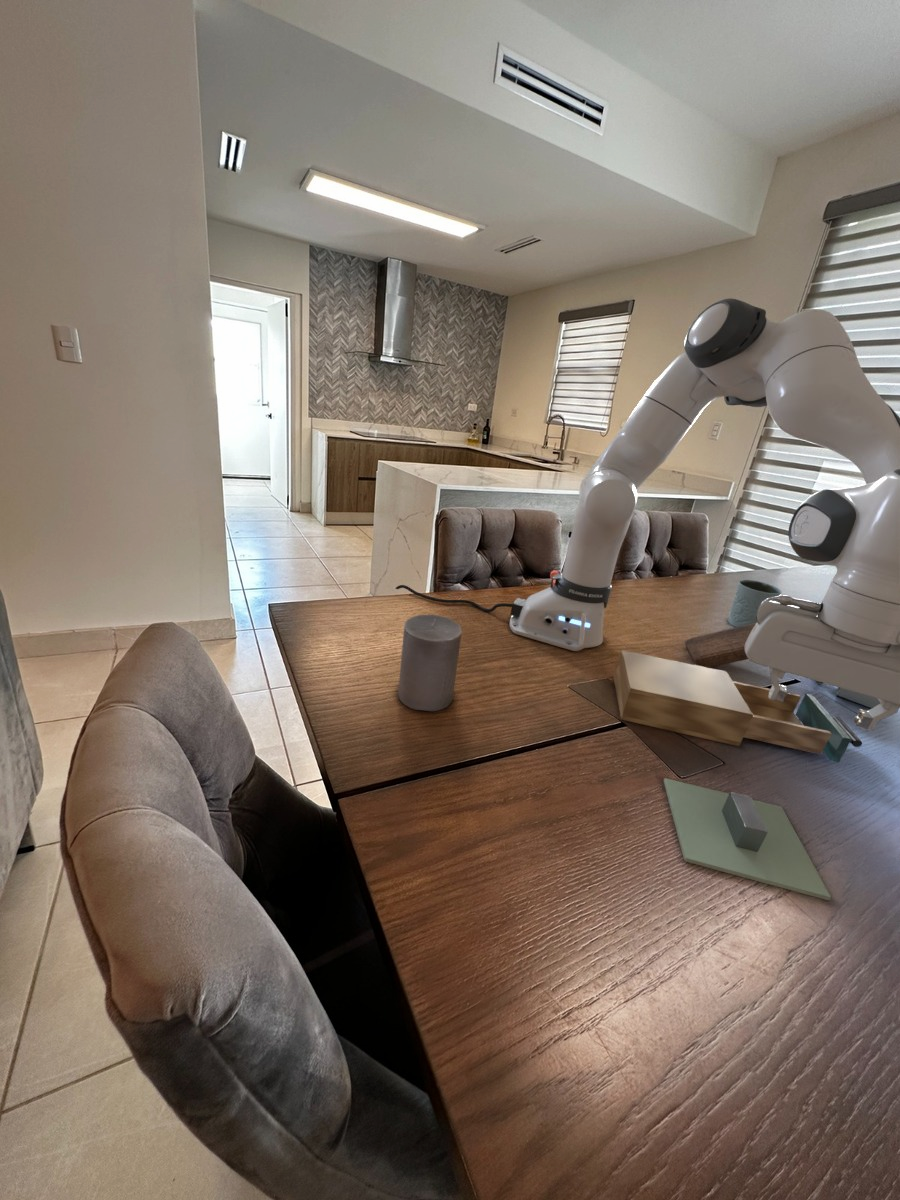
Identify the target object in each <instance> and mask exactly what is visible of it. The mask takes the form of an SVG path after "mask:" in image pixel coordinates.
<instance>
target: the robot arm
mask: <svg viewBox="0 0 900 1200" xmlns="http://www.w3.org/2000/svg"><path fill="white" fill-rule="evenodd" d="M766 314H767V310H766V309H764V308H761V307H757V306H755V305H752V304H750V303H748V302H745V301H744V300H740V299H737V298H732V297H731V298H724V299H721V300H718V301H716V302H714V303H713V304H710V305H709V306H707V307H706V308H704V310H702V312H700V313H699V314H698V316H696V318H695V319H694V320H693V322H692V323H691V324H690V326H689V328H688V331H687V333H686V336H685V338H684V343H683V347H684V351H685V352H683V353H680V354H679V355H677V356H676V358H674V359H673V360H672V361H671V362H670V363H669V365H668V366H667V367H666V368H665V369H664V370H662V372H661V373H660V374H659V376H657V378H656V379H655V380H654V382H653V383H652V384H651V385H650V387H649V388H648V389H647V390H646V392H645V394H644V395H643V397H642V398H641V399H640V401H639V402H638V404H637V406H635V408H634V409H633V411H632V412H631V413H630V415H629V417H628V418H627V419H626V421H625V423H624V424H623V425H622V426H621V428H620V429H619V431H618V432H617V433H616V435H615V436H614V437H613V438H612V440H611V441H610V442H609V444H608V445H607V446H606V448H605V449H604V451H602V453H601V454H600V456H599V457H598V458H597V460H596V461H595V462H594V464H593V465H592V466H591V468H590V469H589V470H588V472H586V474H585V476H583V479H582V480H581V483H580V485H579V490H578V497H579V500H578V506H577V510H576V515H575V518H574V523H573V526H572V529H571V534H570V538H569V540H568V545H567V549H566V555H565V558H564V562H563V563H564V564H563V567H562V571H561V572H560V573H559V571H558V570H555V569H553V570H552V571H551V572H550V575H549V577H550V579H551V580H550V586H549V587H547V588H545V589H543V590H541V591H537V592H536V593H532V594H531V595H529V596H528V597H527V599H525V598H520V597H516V599H515V600H514V601H513V602H512V603H507V602H505V603H504V602H500V603H496V604H494V605H493V606H492V607H491V608H485V607H483V606H481V605H479V604H478V603H476V602H474V601H472V600H468V599H443V598H437V597H433V596H430V595H426V594H424V593H421V592H418V591H416V590H414V589H412V588H411V587H410V586H408V585H405V584H399V585H397V586H396V587H395V589H394V590H400V589H405V590H407V591H408V592H410V593H412V594H413V595H415V596H418V597H421V598H424V599H427V600H429V601H433V602H438V603H447V604H455V603H456V604H458V603H459V604H461V603H462V604H469V605H471V606H473V607H475V608H477V609H479V610H481V611H483V612H486V613H491V612H494V611H495V610H496V609H497V608H502V607H505V608H511V609H510V619H509V624H508V625H509V628H510V630H511V632H512V633H514V634H515V635H518V636H521V637H524V638H528V639H531V640H536V641H539V642H541V643H545V644H549V645H551V646H556V647H559V648H562V649H566V650H569V651H572V652H579V651H581V650H583V649H590V648H595V647H598V646H600V645H602V644H603V642H604V619H605V618H604V617H605V611H606V608H607V607H608V604H609V601H610V596H611V593H612V580H613V576H614V574H615V573H614V572H615V568H616V565H617V561H618V558H619V554H620V550H621V548H622V546H623V543H624V540H625V538H626V535H627V533H628V530H629V527H630V524H631V521H632V518H633V516H634V513H635V510H636V507H637V503H638V491H637V490H638V489H640V487H641V486H642V485H643V484H644V482H646V480H647V479H648V478H650V476H651V475H652V474H653V473H654V472H655V471H656V470H657V469H658V468H659V467H660V466H661V465H662V464H664V463H665V461H666V460H667V459H668V458H669V457H670V455H671V454H672V453H673V451H674V450H675V449H676V447H677V446H678V444H679V443H680V442H681V441H682V440H683V438H684V437H685V436H686V434H687V432H688V431H689V430H690V429H691V428H692V426H693V425H694V423H695V422H696V421H697V420H698V418H699V416H700V415H701V414H702V412H703V411H704V409H705V408H706V407H707V406H708V405H710V403H712V402H713V401H715V400H716V399H719V398H722V397H723V399H724V402H725V404H726V405H727V406H745V407H752V408H764V407H767V410H768V413H769V415H770V417H771V419H772V420H773V423H774V424H775V425H776V426H777V427H778V428H779V429H780V430H781V432H783V433H785V434H787V435H788V436H790V437H793V438H795V439H798V440H800V441H805V442H807V443H811V444H814V445H817V446H820V447H822V448H824V449H827V450H829V451H832V452H834V453H835V454H839V455H841V456H842V457H844V458H846V459H847V460H849V461H850V462H852V463H853V465H855V466H856V467H857V468H858V470H859V472H860V473H861V476H862V477H863V479H864V482H865V483H864V484H860V485H854V486H849V487H848V486H847V487H842V488H831V489H827V488H826V489H821V490H819V491H817V492H815V493H813V494H811V495H810V496H808V497H807V498H805V500H803V501H802V502H801V504H799V506H798V507H797V508H796V510H795V511H794V513H793V515H792V517H791V520H790V523H789V527H788V532H787V534H788V535H787V536H788V542H789V544H790V546H791V548H792V550H793V551H794V553H795V554H796V555H797V557H799V558H801V559H803V560H806V561H808V562H810V563H814V564H817V565H823V566H829V567H835V568H836V573H835V575H834V576H833V578H832V579H831V581H830V582H829V583H830V584H828V588H827V590H826V592H825V594H824V596H823V598H822V600H821V603H819V602H816V601H812V600H807V599H802V598H801V599H800V598H795V597H792V596H790V595H785V594H781V595H778V597H769V598H767V599H765V600H764V601H762V602H761V604H760V606H759V608H758V611H757V613H756V621H757V623H756V624H755V626H754V628H753V629H752V631H751V633H750V635H749V637H748V639H747V641H746V643H745V653H746V655H747V657H748V659H747V660H748V661H749V662H751V663H753V664H757V665H760V666H764V667H768V671H769V675H770V679H771V683H772V684H771V687H770V688H769V689H770V691H769V699H771V700H775V701H778V702H782V703H783V702H784V698H785V697H786V695H787V693H789V691H788V690H787V686H786V685H783V684H780V682H779V678H780V679H783V678H784V677H785V675H786V673H787V674H791V675H795V676H798V677H802V678H804V679H809V680H812V681H815V682H816V681H819V682H822V683H821V684H826V685H829V686H833V687H836V688H838V687H839V688H843V689H846V690H850V691H853V692H857V693H860V694H864V695H867V696H870V697H874V698H877V699H878V700H879V702H880V704H879V705H877V706H875V707H873V708H870V709H868V710H865V709H863V708H862V709H861V708H858V709H859V710H858V711H857V715H855V717H854V721H853V723H854V724H855V726H856V727H858V728H862V729H865V730H867V731H870V732H871V731H873V730H874V729H875V727H876V725H877V724H878V721H882V720H884V719H886V718H889V717H891V716H893V715H895V714H897V713H898V711H899V710H900V416H899V415H898V413H896V411H895V410H894V409H893V408H892V406H890V405H889V404H888V403H886V401H885V399H883V398H882V396H881V395H880V394H879V393H878V392H877V391H876V389H875V388H874V387H873V385H872V384H871V382H870V381H869V379H868V377H867V376H866V374H865V372H864V371H863V369H862V367H861V364H860V362H859V359H858V356H857V352H856V350H855V348H854V345H853V342H852V340H851V338H850V336H849V334H848V332H847V331H846V328H844V326H843V324H841V322H840V321H839V320H838V318H837V317H836V316H835V315H834V314H833V313H832V312H830V311H827V310H824V309H820V308H819V309H818V308H813V309H811V308H810V309H805V310H802V311H799V312H796V313H795V314H794V313H793V314H792V315H790V316H788V317H787V318H785V319H783V320H782V321H778V322H775V321H771V320H770V319H768V318H767V317H766V316H767V315H766ZM771 600H777V602H775V601H771Z"/></svg>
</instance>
